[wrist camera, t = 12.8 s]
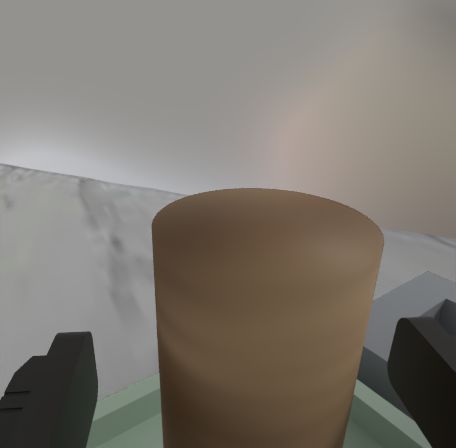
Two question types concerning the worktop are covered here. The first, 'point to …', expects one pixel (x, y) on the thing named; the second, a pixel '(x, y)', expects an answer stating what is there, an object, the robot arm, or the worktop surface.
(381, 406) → the tray
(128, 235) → the worktop surface
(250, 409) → the dowel
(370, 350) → the socket block
